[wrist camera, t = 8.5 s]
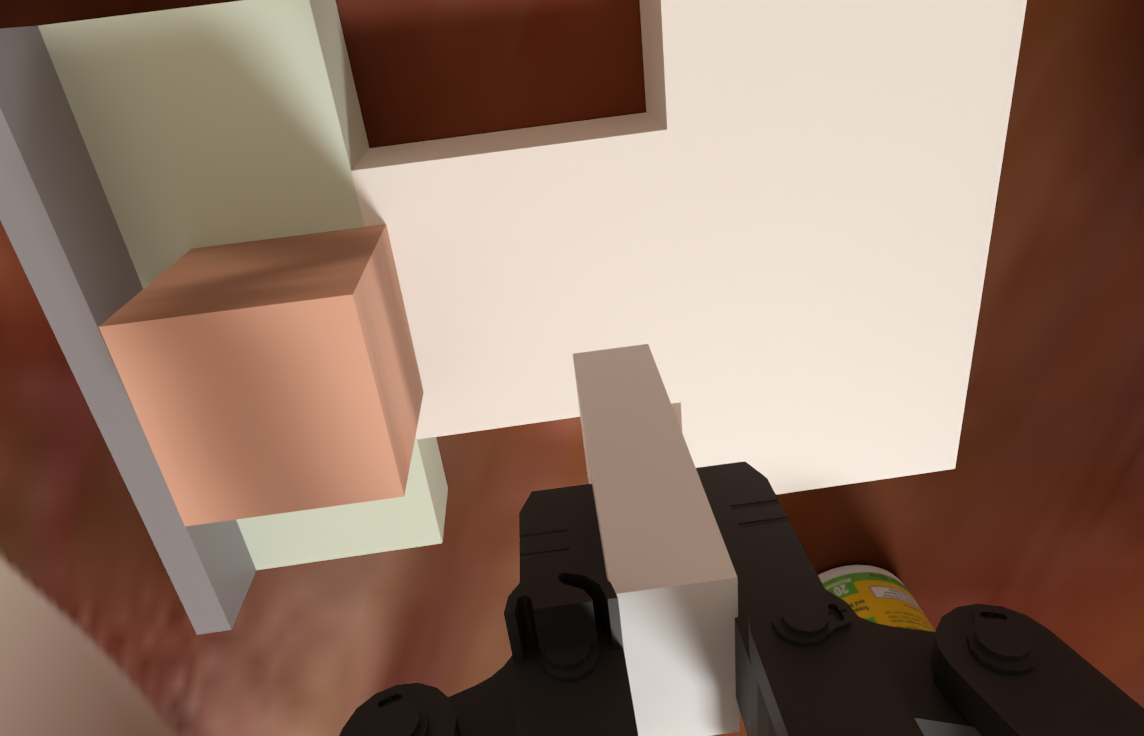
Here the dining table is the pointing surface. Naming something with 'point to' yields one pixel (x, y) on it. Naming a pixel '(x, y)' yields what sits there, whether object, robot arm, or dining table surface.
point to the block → (274, 374)
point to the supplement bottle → (876, 596)
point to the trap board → (543, 234)
